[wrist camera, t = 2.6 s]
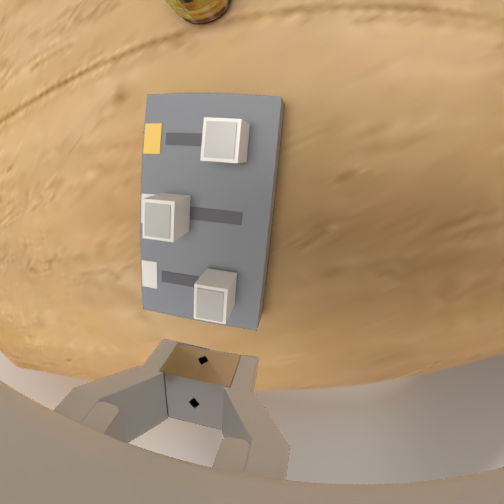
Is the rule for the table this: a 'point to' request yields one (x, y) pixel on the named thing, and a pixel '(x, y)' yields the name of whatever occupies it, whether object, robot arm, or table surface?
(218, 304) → the knob
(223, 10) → the sauce bottle
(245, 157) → the knob
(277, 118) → the console
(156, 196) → the knob
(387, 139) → the table surface
